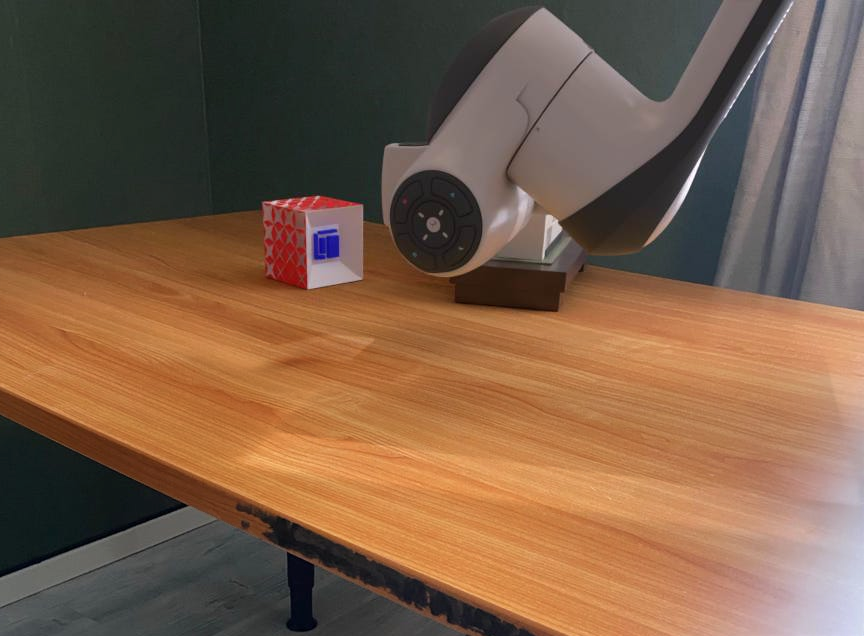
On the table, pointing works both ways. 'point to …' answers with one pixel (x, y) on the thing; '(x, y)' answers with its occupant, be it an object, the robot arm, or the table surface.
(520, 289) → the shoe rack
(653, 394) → the table surface
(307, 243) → the red and white cube
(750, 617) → the table surface
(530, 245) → the white upright block
